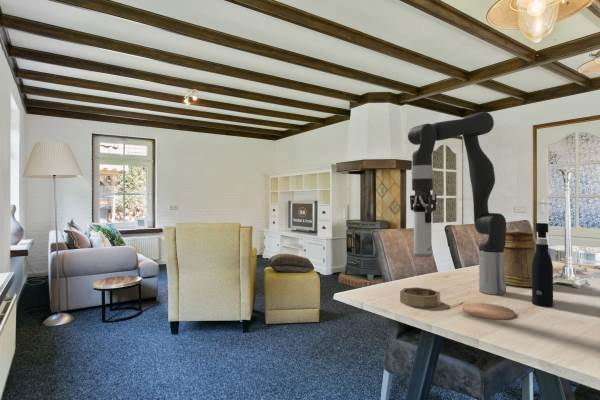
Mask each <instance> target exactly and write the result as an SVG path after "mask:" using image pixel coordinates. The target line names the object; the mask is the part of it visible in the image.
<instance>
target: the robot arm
mask: <svg viewBox="0 0 600 400" xmlns="http://www.w3.org/2000/svg"><path fill="white" fill-rule="evenodd" d="M494 121H495V120H494V117H493V116H492V115H491V113H489V112H487V111H479V112H476V113H472V114H469V115H468V114H467V115H466V116H464V117H463V118H458V119H454V120H453V119H451V120H445V121H438V122H434V123H423V124H420V125H416V126H413V127H412V128H410V129H409V130H408V133H407V140H408V142H410V144H412V145H415V146H418V148H417V150H415V151H414V152H413V153H412V157H411V158H412V160H411V161H412V164H411V165H412V168H411V190H412V191H414V194H412V195H409V204H410V211H413V213H414V205H423V207H424V210H425V212H426V213H425V223H431V224H432V220H433V218H432V217H433V215H432V214H433V212H436V210H437V194H432V192H431V191H433V190H434V170H433V152H434V149H435V145H436V141H437V142H438V141H444V140H448V139H453V138H457V137H459V136H460V137H461V136H462V138H463V143H464V146H465V151H466V156H467V163H468V170H469V180H470V184H471V192H472V202H473V223H474V228H475V230H476V232H477V233H479V234H481V235H488V239H487V240H486V241H484V242H481V243H479V245H478V286H479V287H478V288H479V289H478V291H479V292H480V293H482V294H483V293H484V294H487V295H488V294H489V295H496V296H497V295H503V294H504V295H505V294H506V293H507V284H506V270H504V247H505V243H506V231H507V220H506V218H505V215H503V214H501V213H499V212H498V213H497V212H490V211H489V200H490V199H489V198H490V196H491V194H492V191H493V189H494V186H495V183H496V175H495V167H494V164H493V162H492V161H491V160H490V158H489V157H488V156H487V154H486V153H485V151H483V150H482V147H481V145H480V142H479V137H480V136H482V135H486V134H489V133H490V132H491V131H492V130H493V128H494V126H495V125H494V124H495V122H494ZM478 136H479V137H478ZM427 207H428V209H427Z"/></svg>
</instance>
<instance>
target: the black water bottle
mask: <svg viewBox="0 0 600 400" xmlns="http://www.w3.org/2000/svg"><path fill="white" fill-rule="evenodd" d="M535 233H537V239H536V243H535V255H534V258H533V262H532V287H531V303H532V305H533V306H537V307H543V308H553V307H554V267H553V261H552V257H551V256H550V253H549V244H548V239H547V233H549V223H547V222H536V223H535Z"/></svg>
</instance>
